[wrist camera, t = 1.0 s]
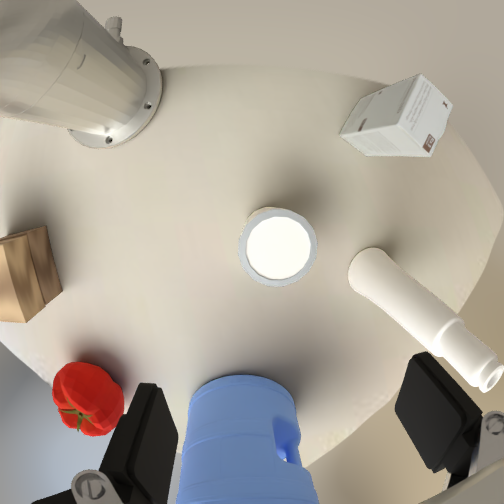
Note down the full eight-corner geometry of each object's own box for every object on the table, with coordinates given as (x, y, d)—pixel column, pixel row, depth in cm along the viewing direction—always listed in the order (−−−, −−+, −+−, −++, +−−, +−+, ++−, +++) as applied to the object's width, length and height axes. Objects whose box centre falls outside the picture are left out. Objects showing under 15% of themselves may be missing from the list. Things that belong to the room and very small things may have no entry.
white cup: (232, 205, 29) (231, 215, 23) (296, 196, 29) (314, 203, 23) (242, 267, 31) (244, 292, 24) (302, 257, 31) (320, 280, 25)
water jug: (190, 433, 39) (176, 580, 12) (189, 365, 35) (157, 571, 8) (282, 437, 40) (308, 579, 13) (303, 373, 36) (363, 560, 9)
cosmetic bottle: (368, 301, 33) (473, 420, 12) (337, 276, 32) (449, 406, 11) (397, 265, 32) (525, 356, 11) (369, 237, 31) (514, 324, 10)
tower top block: (-12, 243, 24) (-33, 252, 20) (26, 235, 24) (2, 244, 20) (5, 306, 26) (-13, 320, 22) (45, 306, 27) (26, 323, 22)
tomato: (95, 343, 33) (68, 382, 24) (144, 401, 36) (130, 444, 28) (55, 360, 34) (29, 394, 25) (100, 411, 37) (84, 448, 28)
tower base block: (8, 235, 28) (-12, 242, 24) (47, 225, 29) (27, 232, 24) (23, 293, 31) (6, 305, 26) (63, 290, 31) (46, 304, 27)
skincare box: (359, 97, 27) (419, 66, 15) (388, 120, 27) (455, 103, 16) (336, 137, 28) (393, 121, 16) (367, 160, 29) (433, 158, 17)
